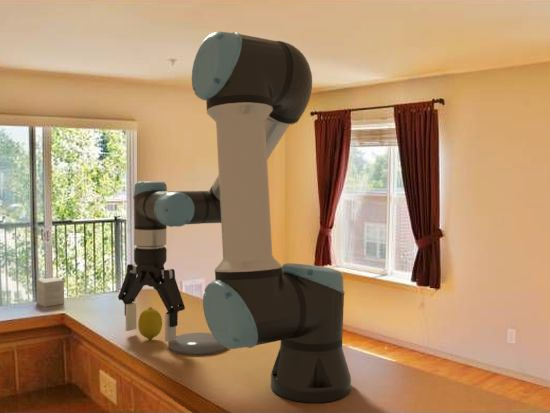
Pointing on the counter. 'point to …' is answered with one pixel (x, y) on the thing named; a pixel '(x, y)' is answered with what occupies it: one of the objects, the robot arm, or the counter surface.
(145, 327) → the lemon
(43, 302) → the product box
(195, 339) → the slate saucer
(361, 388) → the counter surface
